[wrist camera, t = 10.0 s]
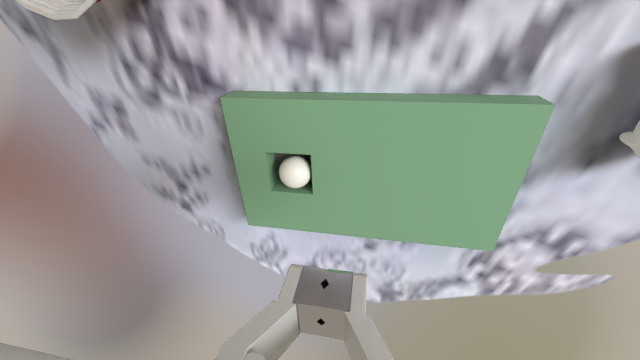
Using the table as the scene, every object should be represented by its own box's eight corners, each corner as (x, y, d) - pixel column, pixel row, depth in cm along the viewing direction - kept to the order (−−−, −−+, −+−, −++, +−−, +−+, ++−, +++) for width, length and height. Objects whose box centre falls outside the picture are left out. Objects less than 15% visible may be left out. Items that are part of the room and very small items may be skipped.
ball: (310, 149, 34) (278, 151, 34) (311, 165, 31) (275, 166, 31) (311, 176, 36) (282, 177, 36) (312, 193, 33) (279, 195, 33)
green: (232, 90, 32) (220, 97, 29) (538, 95, 26) (555, 104, 24) (256, 211, 41) (248, 224, 39) (484, 234, 36) (492, 251, 33)
